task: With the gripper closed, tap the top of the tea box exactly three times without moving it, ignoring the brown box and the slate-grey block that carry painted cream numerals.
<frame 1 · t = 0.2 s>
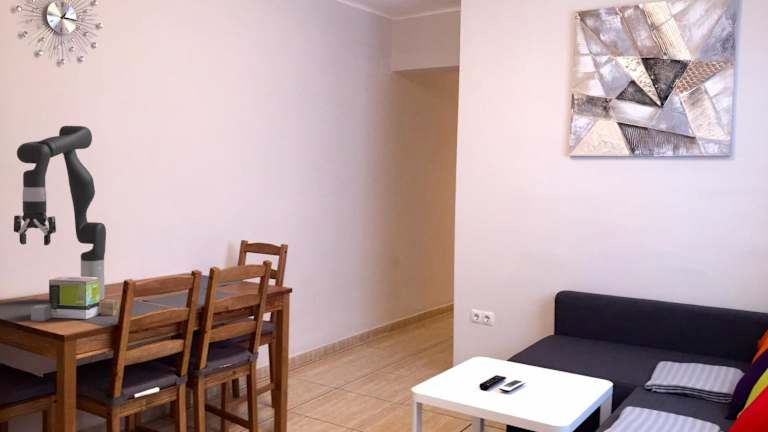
hand: (35, 244, 235), 29 cm above the table, fingers open, 8 cm apart
tea box: (74, 316, 250), on the table
slate block: (41, 319, 244), on the table
brown box: (110, 313, 256), on the table
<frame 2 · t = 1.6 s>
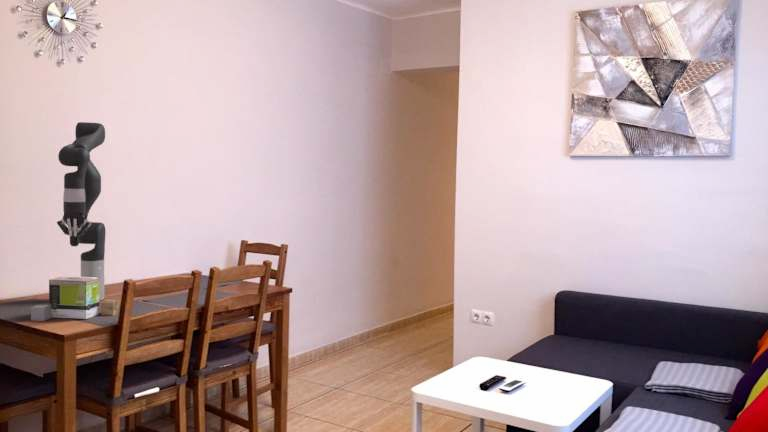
hand: (74, 246, 249), 27 cm above the table, fingers closed
nothing on the table moved.
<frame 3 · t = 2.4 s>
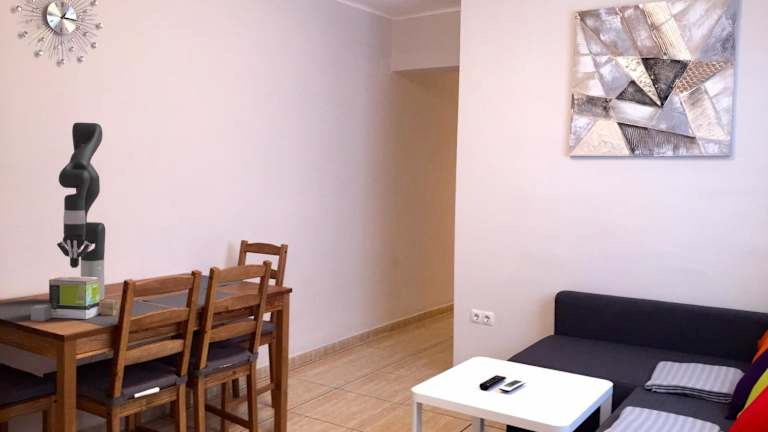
hand: (74, 267, 249), 19 cm above the table, fingers closed
nothing on the table moved.
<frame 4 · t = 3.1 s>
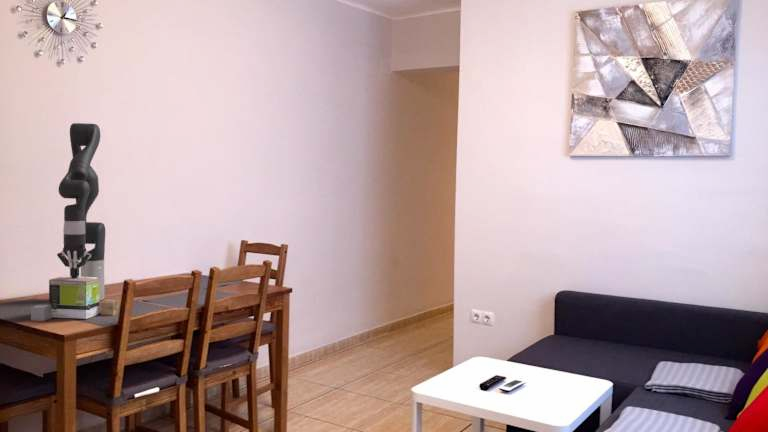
hand: (74, 277, 249), 15 cm above the table, fingers closed
tea box: (74, 316, 250), on the table, touching gripper
everything else where it was.
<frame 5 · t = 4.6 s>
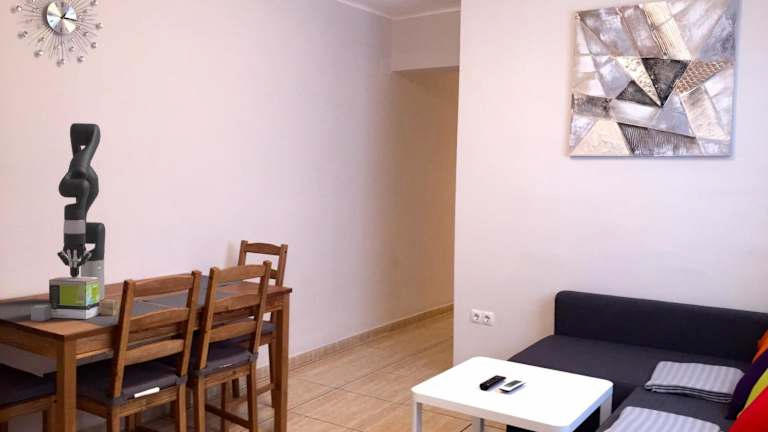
hand: (74, 276, 249), 15 cm above the table, fingers closed
tea box: (74, 316, 250), on the table
everything else where it was.
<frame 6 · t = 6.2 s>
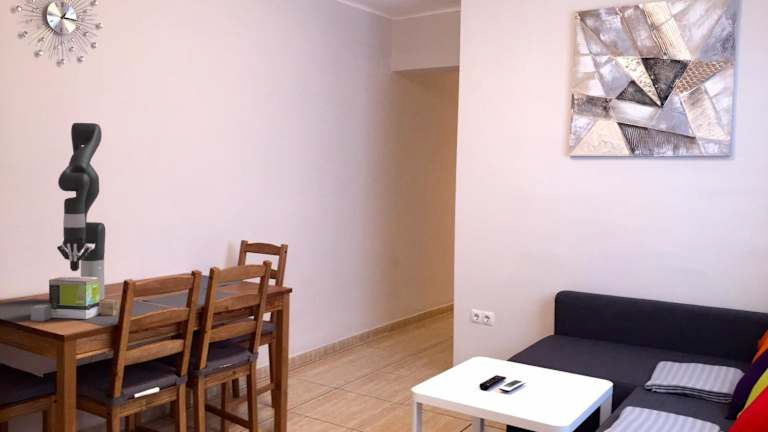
hand: (74, 270, 249), 17 cm above the table, fingers closed
nothing on the table moved.
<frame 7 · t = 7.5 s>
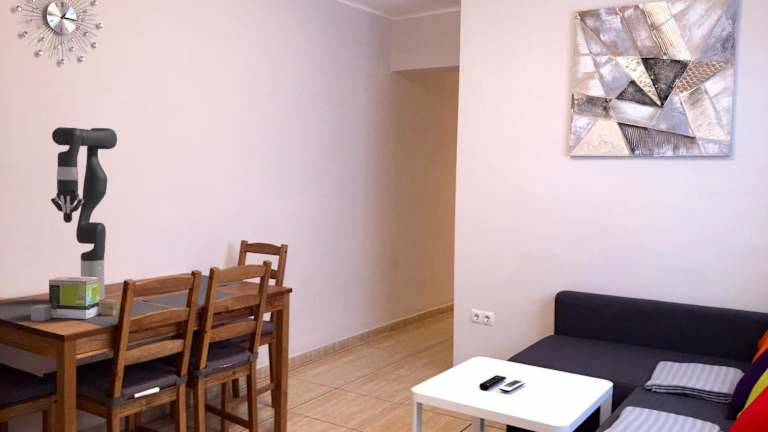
hand: (67, 222, 258), 35 cm above the table, fingers closed
nothing on the table moved.
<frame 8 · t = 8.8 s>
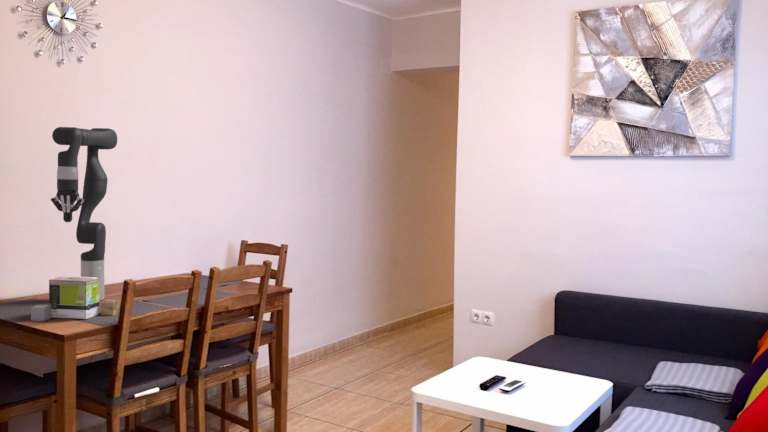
hand: (67, 222, 258), 35 cm above the table, fingers closed
nothing on the table moved.
at the end: tea box moved 0.3 cm from its start; tea box tilted 0°; slate block moved 0.1 cm from its start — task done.
